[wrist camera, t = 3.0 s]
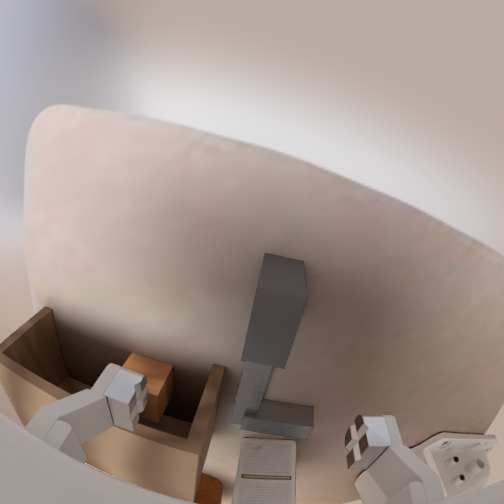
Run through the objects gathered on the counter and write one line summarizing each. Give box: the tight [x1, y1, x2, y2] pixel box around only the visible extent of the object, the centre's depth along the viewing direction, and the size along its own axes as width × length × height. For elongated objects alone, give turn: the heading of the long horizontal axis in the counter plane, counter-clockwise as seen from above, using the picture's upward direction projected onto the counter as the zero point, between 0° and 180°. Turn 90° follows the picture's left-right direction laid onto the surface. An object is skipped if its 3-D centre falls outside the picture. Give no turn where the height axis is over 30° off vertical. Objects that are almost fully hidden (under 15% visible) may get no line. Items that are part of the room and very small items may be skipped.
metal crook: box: [230, 253, 314, 439], centre depth 20 cm, size 7×16×5 cm, turn 170°
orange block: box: [122, 352, 173, 423], centre depth 23 cm, size 4×4×4 cm
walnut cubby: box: [0, 307, 225, 502], centre depth 21 cm, size 19×10×9 cm, turn 80°
